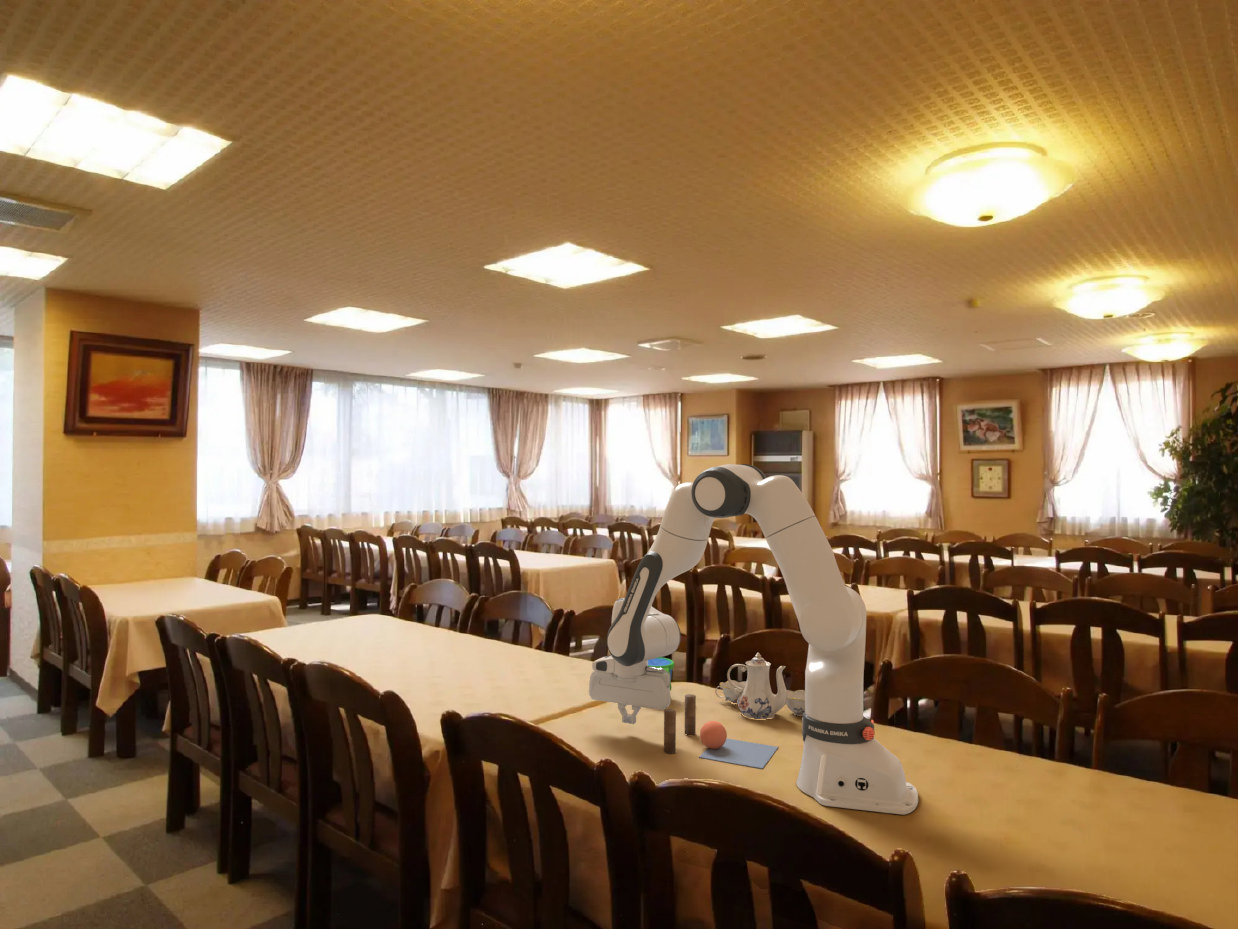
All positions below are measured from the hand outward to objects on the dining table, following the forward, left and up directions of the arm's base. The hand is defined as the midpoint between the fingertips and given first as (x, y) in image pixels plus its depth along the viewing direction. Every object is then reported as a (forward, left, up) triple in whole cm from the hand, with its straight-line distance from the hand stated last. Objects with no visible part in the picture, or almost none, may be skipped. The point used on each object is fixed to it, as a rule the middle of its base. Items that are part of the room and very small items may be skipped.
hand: (629, 722), depth 174 cm
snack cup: (+6, -30, -3) cm, 31 cm away
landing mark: (-27, 0, -3) cm, 27 cm away
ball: (-21, 0, 0) cm, 21 cm away
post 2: (-13, -7, -3) cm, 15 cm away
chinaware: (-24, -31, -3) cm, 39 cm away
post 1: (-13, +7, -3) cm, 15 cm away
